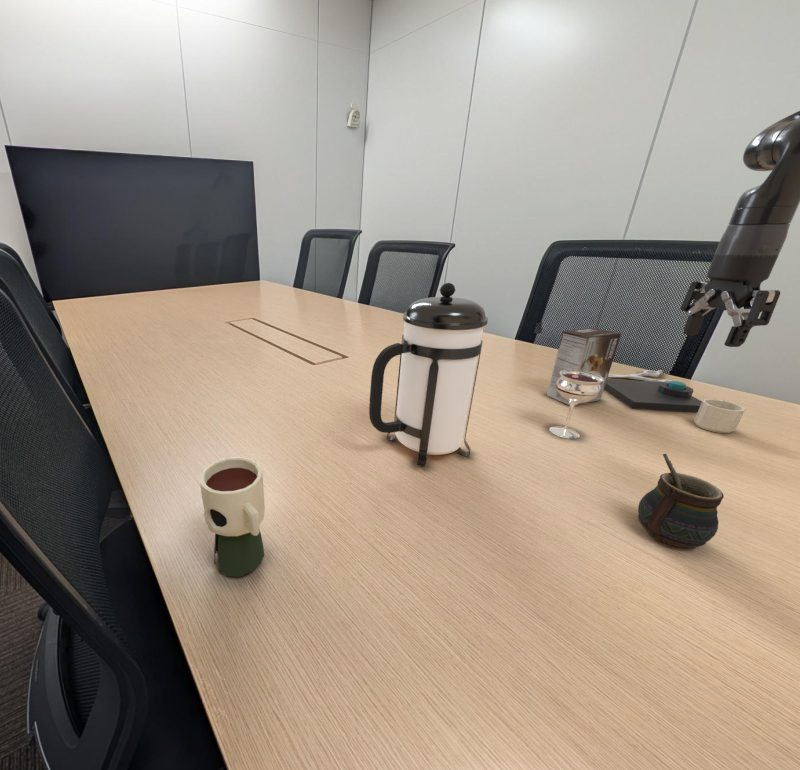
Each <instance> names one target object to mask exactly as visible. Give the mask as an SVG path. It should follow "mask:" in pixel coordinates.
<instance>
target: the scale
mask: <svg viewBox="0 0 800 770" xmlns="http://www.w3.org/2000/svg"><path fill="white" fill-rule="evenodd" d="M668 386H669V383H666V382H654V381H645V380H634V379H613V378H612V379H611V378H607V381H606V384H605V387H604V390H605V391H607V392H608V393H609V394H611V395H613V396H614V397H615V398H617V399H619V400H620V401H621V402H623V403H624V404H625V405H627V406H628V407H629V408H630V409H635V410H652V411H668V412H669V411H670V412H685V413H697V412H698V410H699V408H700V406H701V403H702V401H703V400H701V399H698V398H697V397H695V396H693V394H694V388H692V387H690V386H688V385H686V386H685V388H684V390H678V389H673V388H670V387H668Z"/></svg>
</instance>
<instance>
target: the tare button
mask: <svg viewBox="0 0 800 770" xmlns="http://www.w3.org/2000/svg"><path fill="white" fill-rule="evenodd" d="M685 386H687V384H686V383H685V382H682V381H678V380H672V381H670V383H669V386H668V387H670V388H673V389H678V390H684V388H685Z"/></svg>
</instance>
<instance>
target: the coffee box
mask: <svg viewBox="0 0 800 770" xmlns="http://www.w3.org/2000/svg"><path fill="white" fill-rule="evenodd" d="M621 336H622V333H621V332H616V331H611V330H607V329H601V328H597V327H587V328H585V327H584V328H577V329H569V330H568V329H567V330H563V331H562V333H561V338H560V341H559V345H558V349H557V353H556V358H555V360H554V365H553V369H552V373H551V377H550V380H549V384H548V388H547V392H546V396H547V397H548V398H549V397H550V398H552V399H554V400H556V401H559V402H562V403H563V404H566V405H567V406H570V403H569V402H568V400H566V399H564V398H563V397H562V396H561V395H560V394H559V392H558V391H557V388H556V382H557V381H558V379H559V378H560V377H561V375H560V371H563V370H580V371H586V372H590V373H594V374H597V375H599V376H601V377H603V379H604V381H603V382H602V383H600V385H601V391H600V393H599V395H598V396H597V397H596V398H594V399H592V400H590V401H588V402H583V403H578V404H575V406H576V405H581V404H586V403H593V402H598V401H601V400H602V397H603V393H604V390H605V389H604V387H605V384H606V381H607V379H609V377H608V376H609V375H608V374H610V371H611V369H612V366H613V365H612V364H613V361H614V358H615V355H616V353H617V349H618V345H619V343H620V340H621V339H620V338H621Z"/></svg>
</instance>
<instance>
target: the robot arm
mask: <svg viewBox="0 0 800 770" xmlns="http://www.w3.org/2000/svg"><path fill="white" fill-rule="evenodd" d="M742 155H743V156H742V161H743V164H744V165H745V167H746V168H748V169H749V170H752V171H754V172H770V171H771V172H770V173H769V174H768V176H767V177H766V178H765V180H764V181H763V182H762V183H761V184H759V185H757V186H755V187H752V188H749V189H748V190H745V191H744V192H743V193H742V194H741V195H740V196H739V198H738V199H737V201H736V204H735V206H734V208H733V211H732V214H731V216H730V219H729V222H728V225H727V227H726V229H725V231H724V233H723V234H722V236H721V238H720V240H719V243H718V245H717V248H716V249H715V253H714V255H713V258H712V261H711V263H710V264H709V265H710V266H709V268H708V271H707V274H706V277H707V279H709V281H708V280H698V281H697V280H695V281H692V282H691V283H690V284H689V287H688V290H687V292H686V293H685V296H684V299H683V301H682V304H681V306H680V311H682V312H685V313H686V315H687V316H688V317H687V319H686V322H685V325H684V327H683V335H687V336H697V335H698V334H699V332H700V330H701V328H702V326H703V323H704V321H705V315H707V314H708V313H710V311H712V310H714V309H719V310H721V311H726V313H727V315H728V316H730V317H731V319H732V324H733V325H732V326H731V328H730V330H729V332H728V334H727V337H726V339H725V341H724V346H725V347H729V348H739V347H741V346H742V345H743V344H745V342H746V340H747V338H748V337H749V334H750V331H751V329H753V328H754V327H760V326H761V327H762V326H767V325H768V324H769V323H770V321H771V318H772V316H773V313H774V311H775V308H776V306H777V303H778V301H779V298H780V296H781V291H780V290H778V289H771V290H770V289H768V290H762V289H761V284H762V283H763V282H765V281H766V280H768V279H770V275H771V273H772V271H773V269H774V266H775V265H776V262H777V260H778V258H779V255H780V253H781V251H782V249H783V247H784V244H785V242H786V241H787V237H788V233H789V229H790V226H791V223H792V221H793V219H794V217H795V214H796V212H797V211H798V208H799V206H800V110H798V111H796V112H794V113H792V114H790V115H788V116H785V117H784V118H782V119H780V120H778V121H776V122H774V123H772V124H771V125H770V126H769V125H768V126H767V127H766V128H765V129H763V130H761V131H760V132H759V133H758V134H757V135H756V136H755V137H753V138H752V139H751V140H750V142H749V143H748V144H747V146H746V148H745V149H744V152H743V154H742ZM692 301H693V302H692ZM691 303H692V304H691Z"/></svg>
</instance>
